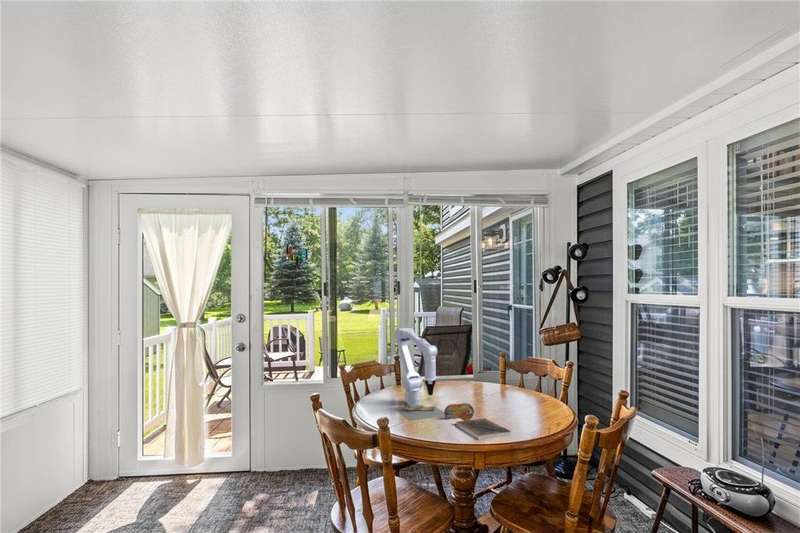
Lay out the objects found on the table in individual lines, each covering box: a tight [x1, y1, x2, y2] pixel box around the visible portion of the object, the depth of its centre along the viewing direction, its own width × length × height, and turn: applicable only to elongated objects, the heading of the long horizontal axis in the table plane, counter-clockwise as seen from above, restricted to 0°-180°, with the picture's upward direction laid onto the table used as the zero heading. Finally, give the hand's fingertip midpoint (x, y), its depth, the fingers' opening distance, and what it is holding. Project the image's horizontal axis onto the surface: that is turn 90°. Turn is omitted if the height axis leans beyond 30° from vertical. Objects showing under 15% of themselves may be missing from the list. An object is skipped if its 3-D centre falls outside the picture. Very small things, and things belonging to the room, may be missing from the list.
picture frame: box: [455, 417, 512, 441], centre depth 206 cm, size 16×2×22 cm
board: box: [394, 405, 446, 421], centre depth 230 cm, size 22×22×2 cm
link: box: [401, 402, 435, 410], centre depth 234 cm, size 17×4×3 cm, turn 86°
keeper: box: [414, 400, 420, 407], centre depth 235 cm, size 10×2×4 cm, turn 175°
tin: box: [443, 402, 475, 421], centre depth 221 cm, size 15×3×8 cm, turn 105°
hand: (430, 394), depth 234 cm, fingers closed
